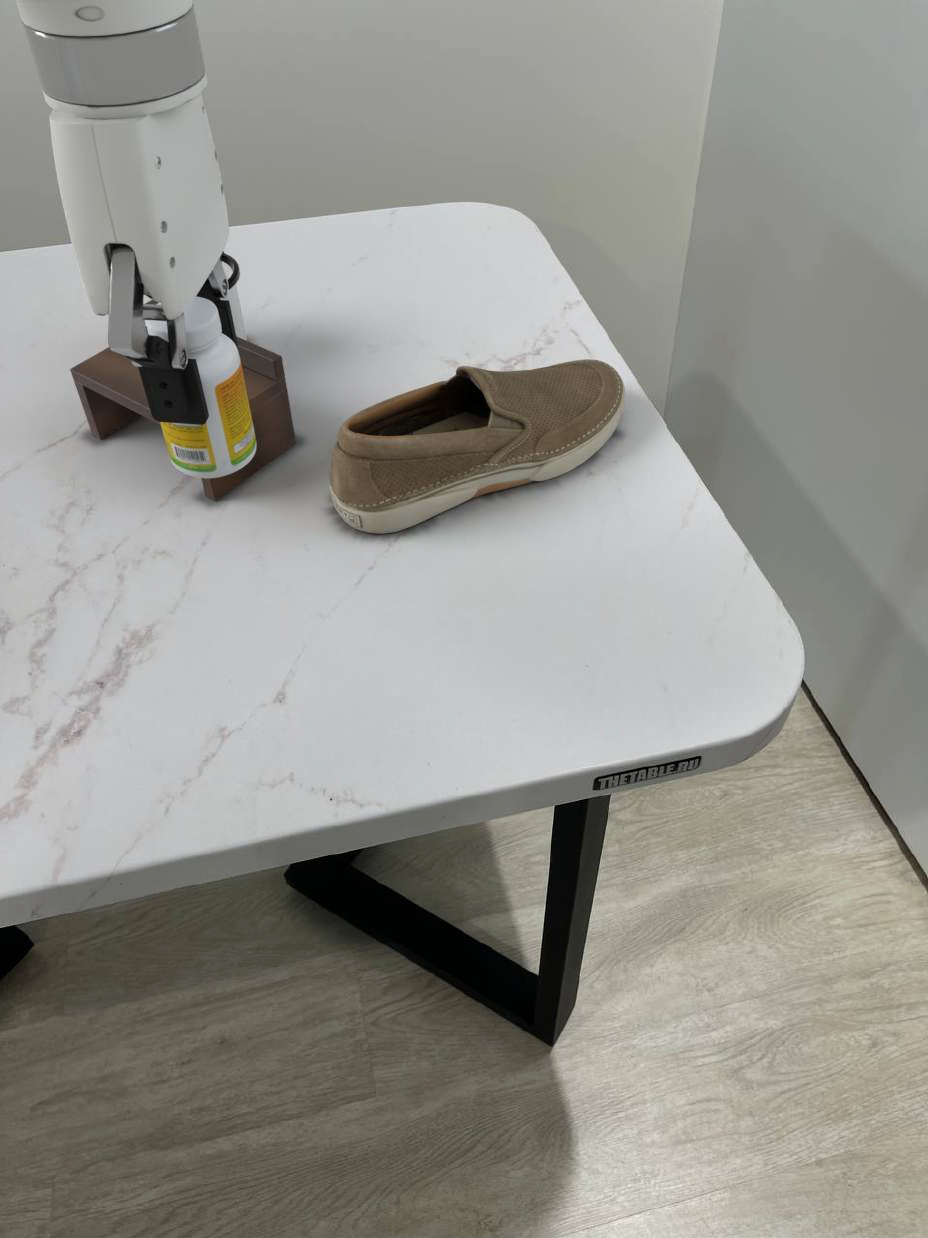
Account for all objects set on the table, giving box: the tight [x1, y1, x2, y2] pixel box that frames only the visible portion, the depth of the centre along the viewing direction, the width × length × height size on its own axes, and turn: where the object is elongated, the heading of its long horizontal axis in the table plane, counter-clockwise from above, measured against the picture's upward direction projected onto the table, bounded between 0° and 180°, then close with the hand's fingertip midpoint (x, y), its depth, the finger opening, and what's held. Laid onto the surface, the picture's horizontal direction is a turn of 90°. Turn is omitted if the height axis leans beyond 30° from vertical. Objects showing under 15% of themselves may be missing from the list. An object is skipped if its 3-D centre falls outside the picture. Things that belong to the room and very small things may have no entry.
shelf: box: [69, 300, 297, 502], centre depth 89 cm, size 10×16×9 cm, turn 54°
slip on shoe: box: [328, 358, 626, 534], centre depth 86 cm, size 30×11×9 cm, turn 121°
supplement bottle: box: [145, 297, 256, 479], centre depth 60 cm, size 5×5×10 cm
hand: (198, 386), depth 60 cm, fingers closed on supplement bottle, 5 cm apart
